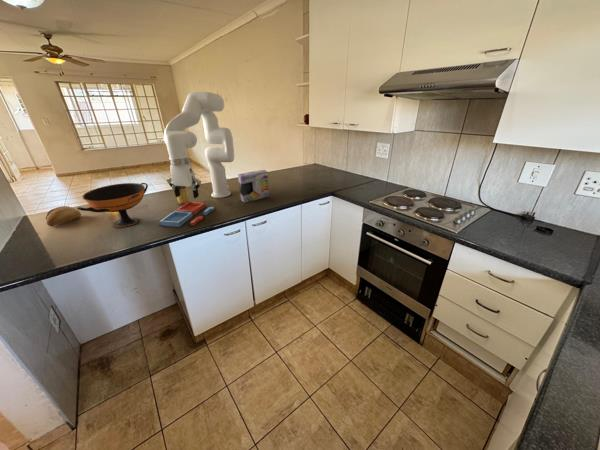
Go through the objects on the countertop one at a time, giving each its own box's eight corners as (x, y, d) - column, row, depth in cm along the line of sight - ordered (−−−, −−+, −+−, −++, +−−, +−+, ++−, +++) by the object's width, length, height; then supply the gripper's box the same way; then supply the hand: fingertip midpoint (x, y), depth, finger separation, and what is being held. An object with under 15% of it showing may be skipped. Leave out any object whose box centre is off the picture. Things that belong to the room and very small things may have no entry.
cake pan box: (242, 203, 152) (238, 175, 144) (239, 201, 156) (235, 173, 148) (269, 197, 162) (268, 170, 154) (266, 195, 166) (264, 169, 157)
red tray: (189, 205, 150) (188, 201, 149) (205, 206, 148) (204, 202, 147) (177, 214, 139) (176, 210, 138) (194, 215, 137) (193, 211, 136)
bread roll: (43, 226, 125) (35, 212, 122) (74, 214, 138) (68, 201, 134) (56, 229, 123) (48, 215, 119) (86, 217, 136) (80, 203, 132)
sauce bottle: (179, 202, 154) (171, 171, 145) (189, 201, 156) (182, 170, 147) (178, 206, 149) (170, 174, 140) (189, 204, 151) (182, 173, 142)
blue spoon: (209, 208, 146) (209, 205, 145) (215, 208, 145) (214, 205, 145) (201, 214, 138) (201, 211, 137) (207, 215, 137) (207, 212, 137)
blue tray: (175, 215, 138) (174, 211, 137) (193, 216, 136) (192, 212, 135) (160, 225, 127) (159, 221, 126) (179, 226, 125) (178, 222, 124)
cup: (134, 207, 148) (125, 178, 139) (171, 211, 142) (163, 182, 134) (72, 236, 117) (55, 202, 108) (115, 243, 111) (101, 207, 103)
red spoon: (198, 217, 135) (197, 214, 134) (204, 218, 134) (203, 215, 133) (189, 225, 127) (188, 222, 126) (195, 225, 126) (194, 222, 125)
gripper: (201, 160, 115) (207, 195, 123) (167, 159, 118) (175, 193, 126) (192, 164, 109) (199, 200, 117) (157, 162, 111) (166, 198, 119)
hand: (187, 196), depth 121 cm, fingers open, 9 cm apart
